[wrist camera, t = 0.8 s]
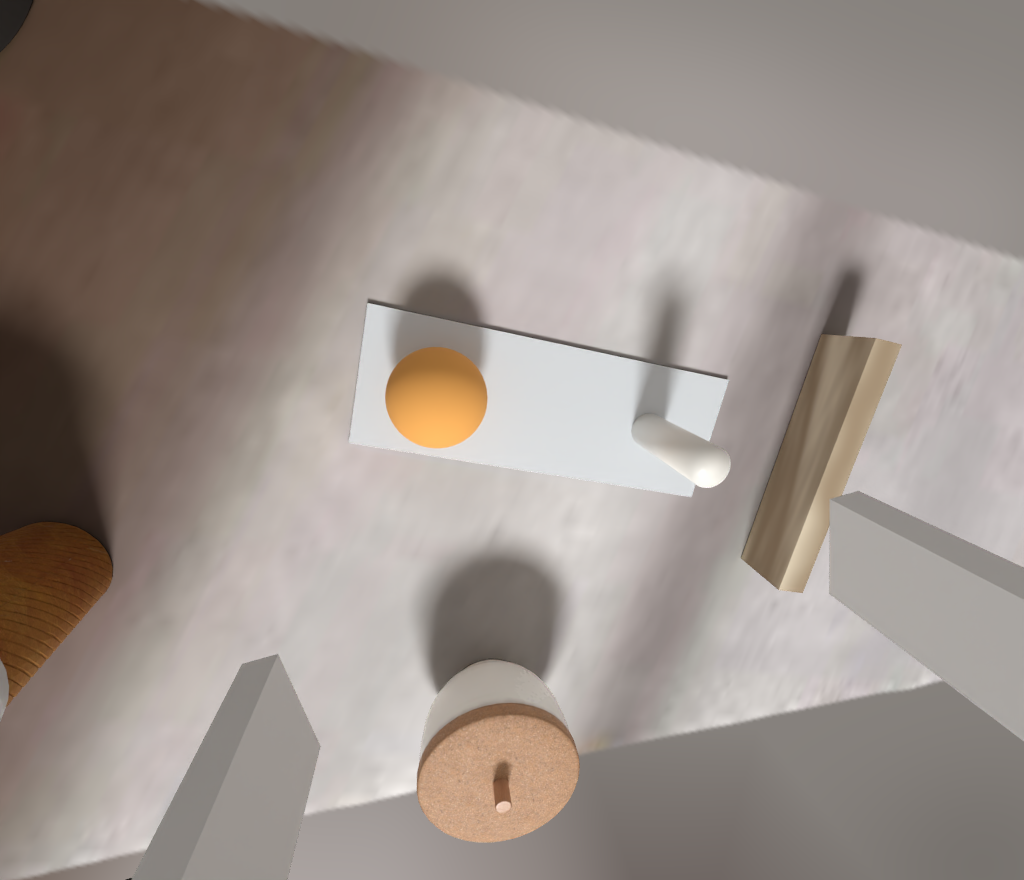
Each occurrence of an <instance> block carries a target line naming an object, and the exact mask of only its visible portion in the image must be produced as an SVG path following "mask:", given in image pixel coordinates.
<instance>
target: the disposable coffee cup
mask: <svg viewBox="0 0 1024 880" xmlns="http://www.w3.org/2000/svg"><path fill="white" fill-rule="evenodd" d="M112 570H113V569H112V564H111V559H110V557H109V555H108V553H107V551H106V550H105V548H104V547H103V546H102V545H101V543H100V542H99V541H98V540H97V539H95V538H94V537H93V536H91V535H90V534H88V533H87V532H85V531H83V530H81V529H79V528H78V527H74V526H71V525H68V524H64V523H57V522H39V523H33V524H30V525H27V526H24V527H22V528H20V529H17V530H14V531H11V532H9V533H6V534H4V535H1V536H0V721H1V717H2V716H3V713H4V710H5V707H7V706H8V705H9V704H10V702H11V701H12V700H13V697H15V696H17V694H18V693H19V692H20V690H21V689H22V687H24V686H25V685H26V684H27V682H28V681H29V680H30V677H33V676H34V674H35V673H36V672H37V671H38V668H40V667H41V666H42V665H43V664H44V662H45V661H46V659H48V658H49V657H50V656H51V654H52V653H53V651H55V650H56V649H57V647H58V646H59V645H60V643H62V642H63V641H64V639H65V638H66V637H67V635H69V634H70V633H71V631H72V630H73V628H75V627H76V625H77V624H78V623H79V621H81V620H82V618H83V617H84V616H85V614H87V613H88V611H89V610H90V609H91V607H93V606H94V604H95V603H96V601H98V600H99V599H100V597H101V596H102V595H103V594H104V593H105V592H106V590H107V589H108V587H109V586H110V583H111V580H112Z"/></svg>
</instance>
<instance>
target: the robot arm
mask: <svg viewBox="0 0 1024 880" xmlns="http://www.w3.org/2000/svg"><path fill="white" fill-rule="evenodd" d="M32 1H33V0H0V52H1V51H2V50H3V49H4V48H5V47H6V46H7V45H8V44H9V43H10V41H11V40H12V39H13V37H14V36H15V35H16V33H17V32H18V30H19V29H20V27H21V25H22V24H23V22H24V20H25V18H26V16H27V14H28V12H29V9H30V6H31V4H32ZM829 594H830V595H831V596H833V597H834V598H835V599H837V600H838V601H839V602H841V603H842V604H843V605H845V606H846V607H847V608H849V609H850V610H851V611H853V612H854V613H855V614H856V615H858V616H859V617H860V618H862V619H863V620H864V621H866V622H867V623H868V624H870V625H871V626H872V627H874V628H875V629H876V630H878V631H879V632H880V633H882V634H883V635H884V636H886V637H887V638H888V639H889V640H891V641H892V642H893V643H895V644H896V645H897V646H899V647H900V648H901V649H903V650H904V651H905V652H907V653H908V654H909V655H911V656H912V657H913V658H915V659H916V660H917V661H919V662H920V663H921V664H922V665H924V666H925V667H926V668H928V669H929V670H930V671H932V672H933V673H934V674H936V675H937V676H938V677H940V678H941V679H942V680H944V681H945V682H946V683H948V684H949V685H950V686H952V687H953V688H954V689H956V690H957V691H958V692H959V693H961V694H962V695H964V696H965V697H966V698H967V699H969V700H970V701H971V702H973V703H974V704H975V705H977V706H978V707H979V708H981V709H982V710H983V711H985V712H986V713H987V714H989V715H990V716H992V717H993V718H994V719H995V720H996V721H998V722H999V723H1000V724H1002V725H1003V726H1004V727H1006V728H1007V729H1008V730H1010V731H1011V732H1012V733H1014V734H1015V735H1016V736H1018V737H1019V738H1020V739H1022V740H1023V741H1024V568H1023V567H1021V566H1019V565H1017V564H1015V563H1013V562H1010V561H1008V560H1006V559H1004V558H1002V557H1000V556H998V555H995V554H993V553H991V552H989V551H987V550H985V549H982V548H980V547H978V546H976V545H974V544H972V543H969V542H967V541H965V540H963V539H961V538H959V537H957V536H954V535H952V534H950V533H948V532H946V531H944V530H941V529H939V528H937V527H935V526H933V525H931V524H929V523H926V522H924V521H922V520H920V519H918V518H916V517H913V516H911V515H909V514H907V513H905V512H903V511H901V510H898V509H896V508H894V507H892V506H890V505H888V504H885V503H883V502H881V501H879V500H877V499H875V498H872V497H870V496H868V495H866V494H864V493H862V492H860V491H857V492H853V493H850V494H846V495H842V496H839V497H835V498H832V499H830V535H829ZM319 750H320V744H319V742H318V740H317V738H316V736H315V733H314V731H313V729H312V727H311V725H310V723H309V720H308V718H307V716H306V714H305V712H304V709H303V707H302V705H301V703H300V701H299V699H298V696H297V694H296V692H295V690H294V688H293V686H292V683H291V681H290V679H289V677H288V675H287V673H286V670H285V668H284V666H283V664H282V662H281V660H280V657H279V655H278V654H277V655H273V656H269V657H266V658H262V659H259V660H255V661H252V662H248V663H244V664H242V665H241V667H240V669H239V671H238V673H237V675H236V677H235V679H234V681H233V683H232V685H231V687H230V689H229V691H228V693H227V695H226V697H225V699H224V700H223V702H222V704H221V706H220V708H219V710H218V712H217V714H216V716H215V718H214V720H213V722H212V724H211V726H210V728H209V730H208V732H207V734H206V736H205V738H204V739H203V741H202V743H201V745H200V747H199V749H198V751H197V753H196V755H195V757H194V759H193V761H192V763H191V765H190V767H189V769H188V771H187V773H186V775H185V776H184V778H183V780H182V782H181V784H180V786H179V788H178V790H177V792H176V794H175V796H174V798H173V800H172V802H171V804H170V806H169V808H168V810H167V812H166V813H165V815H164V817H163V819H162V821H161V823H160V825H159V827H158V829H157V831H156V833H155V835H154V837H153V839H152V841H151V843H150V845H149V847H148V849H147V850H146V852H145V854H144V856H143V858H142V860H141V862H140V864H139V866H138V868H137V870H136V872H135V874H134V876H133V878H130V879H126V880H287V879H288V875H289V871H290V867H291V863H292V859H293V855H294V851H295V847H296V843H297V839H298V835H299V831H300V827H301V823H302V819H303V815H304V811H305V807H306V803H307V799H308V795H309V791H310V787H311V782H312V778H313V774H314V770H315V766H316V762H317V758H318V754H319Z"/></svg>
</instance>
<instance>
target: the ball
mask: <svg viewBox="0 0 1024 880" xmlns="http://www.w3.org/2000/svg"><path fill="white" fill-rule="evenodd" d="M487 399H488V396H487V388H486V384H485V381H484V379H483V376H482V374H481V373H480V371H479V369H478V368H477V367H476V365H475V364H474V363H473V362H472V361H471V360H470V359H468V358H467V357H466V356H464V355H463V354H461V353H459V352H457V351H455V350H452V349H448V348H443V347H428V348H423V349H420V350H417V351H414V352H413V353H411V354H409V355H407V356H406V357H405V358H403V359H402V360H401V361H400V362H399V363H398V364H397V365H396V367H395V368H394V369H393V371H392V373H391V374H390V377H389V379H388V382H387V386H386V392H385V403H386V409H387V412H388V415H389V417H390V419H391V421H392V423H393V425H394V426H395V428H396V429H397V430H398V431H399V432H400V433H401V434H402V435H403V436H404V437H405V438H407V439H408V440H409V441H411V442H413V443H415V444H417V445H420V446H423V447H427V448H447V447H451V446H454V445H457V444H459V443H461V442H463V441H464V440H466V439H467V438H469V437H470V436H471V435H472V434H473V433H474V432H475V431H476V430H477V428H478V427H479V425H480V424H481V422H482V420H483V418H484V416H485V412H486V409H487Z"/></svg>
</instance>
